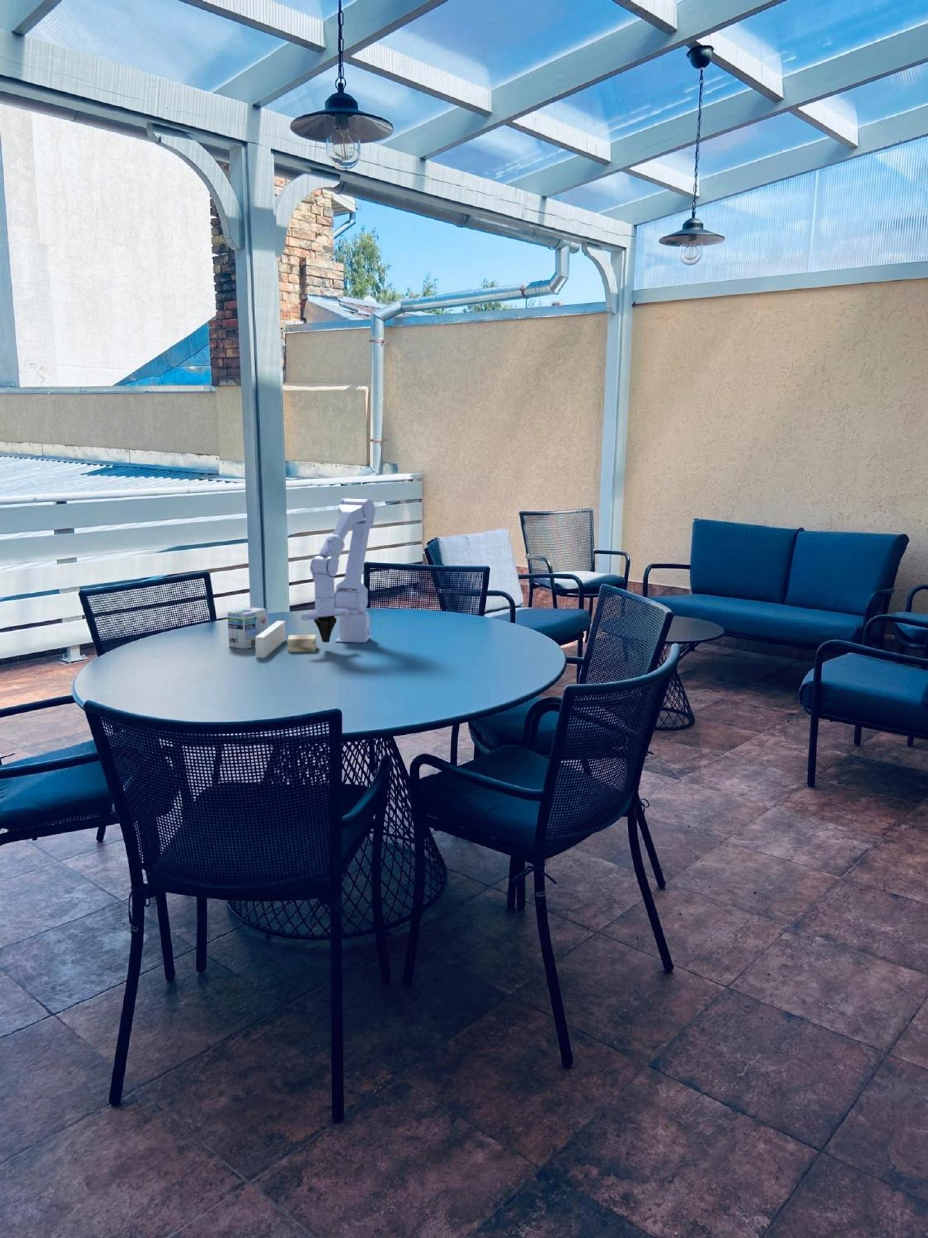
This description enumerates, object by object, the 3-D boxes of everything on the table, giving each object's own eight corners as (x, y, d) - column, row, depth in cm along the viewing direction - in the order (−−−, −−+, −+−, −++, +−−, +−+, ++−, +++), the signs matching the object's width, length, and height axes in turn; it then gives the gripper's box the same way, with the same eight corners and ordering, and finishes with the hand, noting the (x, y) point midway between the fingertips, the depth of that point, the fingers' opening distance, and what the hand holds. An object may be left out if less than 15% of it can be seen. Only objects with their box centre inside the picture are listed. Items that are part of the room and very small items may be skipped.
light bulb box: (245, 649, 266) (244, 614, 263) (227, 647, 268) (226, 611, 266) (268, 642, 275) (267, 608, 273) (250, 640, 278) (249, 606, 276)
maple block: (316, 647, 270) (316, 634, 269) (315, 652, 264) (314, 639, 263) (289, 647, 269) (289, 635, 268) (287, 652, 263) (287, 639, 263)
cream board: (285, 639, 279) (285, 621, 278) (264, 658, 255) (263, 637, 254) (277, 639, 279) (277, 620, 278) (255, 657, 255) (255, 637, 254)
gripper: (339, 592, 271) (340, 636, 273) (296, 597, 262) (297, 642, 264) (351, 595, 265) (352, 640, 268) (307, 600, 256) (308, 646, 259)
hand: (325, 641), depth 266 cm, fingers closed
